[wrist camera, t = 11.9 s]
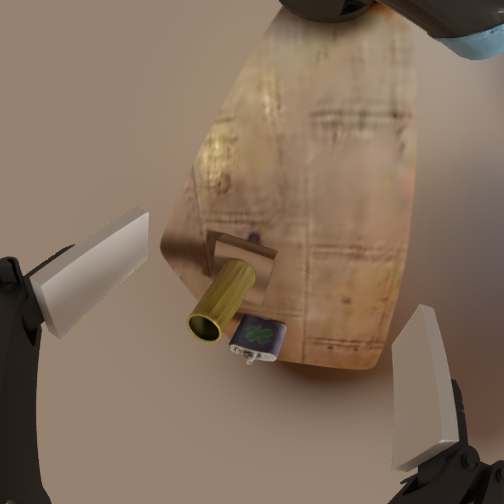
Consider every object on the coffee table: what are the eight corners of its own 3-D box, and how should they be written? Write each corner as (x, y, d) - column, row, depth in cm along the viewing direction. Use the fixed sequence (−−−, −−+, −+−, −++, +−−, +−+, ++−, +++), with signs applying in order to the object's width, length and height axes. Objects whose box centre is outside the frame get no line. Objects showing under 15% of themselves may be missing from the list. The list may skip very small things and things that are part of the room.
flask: (288, 322, 55) (274, 362, 46) (286, 332, 56) (273, 372, 47) (243, 312, 57) (223, 349, 48) (243, 322, 59) (224, 359, 50)
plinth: (223, 232, 50) (216, 240, 47) (278, 251, 48) (273, 259, 46) (216, 277, 55) (209, 286, 53) (264, 295, 54) (260, 305, 51)
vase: (222, 284, 51) (185, 337, 39) (222, 255, 48) (181, 306, 36) (254, 292, 50) (224, 350, 38) (257, 262, 47) (224, 318, 35)
